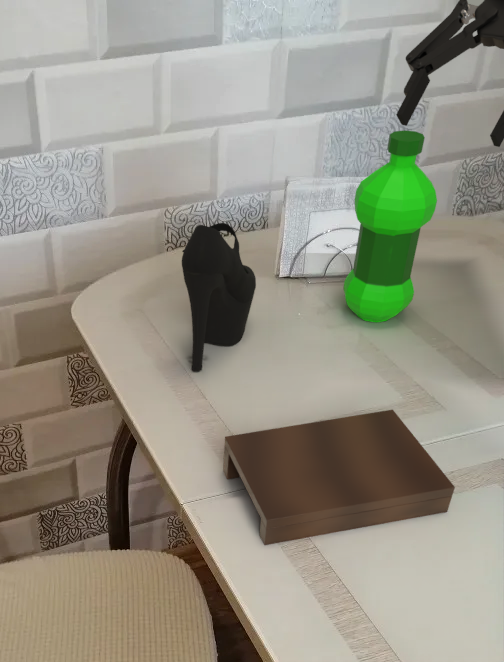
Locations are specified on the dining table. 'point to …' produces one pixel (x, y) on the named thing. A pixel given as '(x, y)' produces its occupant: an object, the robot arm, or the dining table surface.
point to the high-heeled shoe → (216, 289)
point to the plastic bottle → (389, 231)
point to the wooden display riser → (336, 475)
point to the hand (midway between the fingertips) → (446, 130)
